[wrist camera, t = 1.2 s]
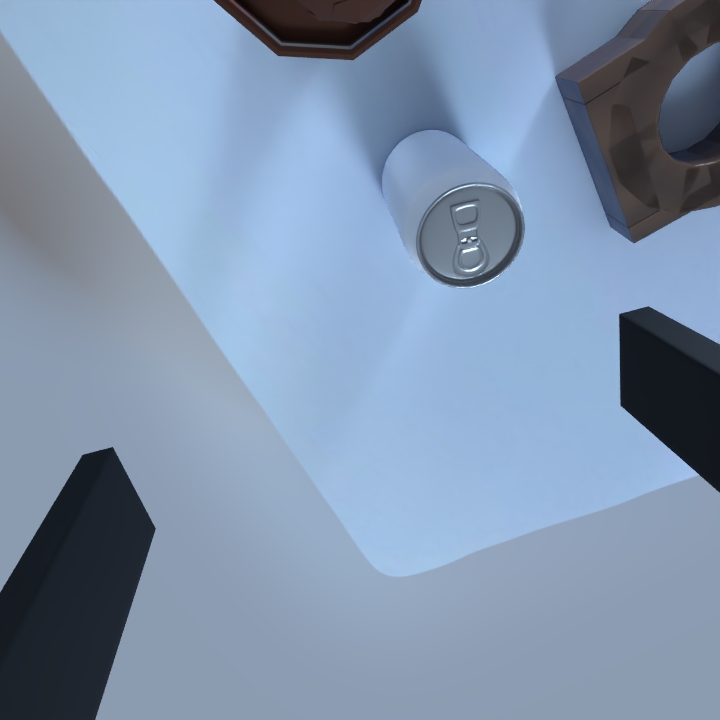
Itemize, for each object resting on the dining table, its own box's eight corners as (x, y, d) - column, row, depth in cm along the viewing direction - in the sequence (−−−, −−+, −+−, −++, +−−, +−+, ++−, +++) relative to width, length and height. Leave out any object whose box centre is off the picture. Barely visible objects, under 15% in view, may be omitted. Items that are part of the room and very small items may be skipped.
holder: (550, 67, 34) (573, 72, 31) (774, -82, 31) (823, -92, 28) (612, 234, 41) (636, 251, 38) (803, 126, 38) (845, 136, 35)
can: (389, 232, 39) (418, 307, 29) (372, 141, 36) (397, 191, 26) (476, 211, 39) (535, 280, 29) (467, 117, 35) (530, 158, 25)
